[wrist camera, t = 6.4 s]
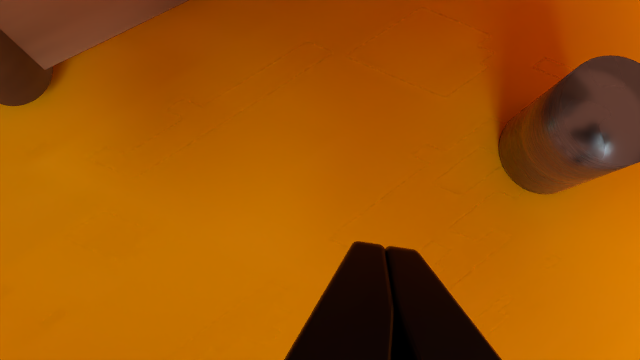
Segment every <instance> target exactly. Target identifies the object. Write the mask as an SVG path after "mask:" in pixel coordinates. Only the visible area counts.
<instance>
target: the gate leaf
mask: <svg viewBox="0 0 640 360" xmlns="http://www.w3.org/2000/svg"><path fill="white" fill-rule="evenodd" d="M186 1H188V0H0V104H3V105H7V106H19V105H24V104H27V103H30V102H32V101H34V100H35V99H37V98H38V97H39V96H41V95H42V94H43V93H44V91H45V90H46V89H47V87H48V86H49V84H50V81H51V78H52V73H53V66H54V65H56V64H58V63H60V62H62V61H64V60H66V59H68V58H70V57H73V56H75V55H77V54H79V53H81V52H83V51H85V50H87V49H89V48H91V47H93V46H95V45H97V44H99V43H101V42H103V41H106V40H108V39H110V38H112V37H114V36H116V35H118V34H120V33H122V32H124V31H126V30H128V29H130V28H132V27H134V26H136V25H139V24H141V23H143V22H145V21H147V20H149V19H151V18H153V17H155V16H157V15H159V14H161V13H163V12H165V11H167V10H170V9H172V8H174V7H176V6H178V5H180V4H182V3H184V2H186Z"/></svg>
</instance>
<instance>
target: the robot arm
mask: <svg viewBox="0 0 640 360" xmlns="http://www.w3.org/2000/svg"><path fill="white" fill-rule="evenodd" d="M284 360H502V359H501V358H500V357H499V356H498V354H497V353H496V352H495V350H494V349H493V348H492V347H491V345H490V344H489V343H488V341H487V340H486V339H485V338H484V336H483V335H482V334H481V332H480V331H479V330H478V329H477V327H476V326H475V325H474V323H473V322H472V321H471V320H470V318H469V317H468V316H467V314H466V313H465V312H464V311H463V309H462V308H461V307H460V305H459V304H458V303H457V302H456V300H455V299H454V298H453V296H452V295H451V294H450V293H449V291H448V290H447V289H446V287H445V286H444V285H443V284H442V282H441V281H440V280H439V278H438V277H437V276H436V274H435V273H434V272H433V271H432V269H431V268H430V267H429V265H428V264H427V263H426V262H425V260H424V259H423V258H422V256H421V255H420V254H419V253H418V252H417V251H415V250H413V249H407V248H400V247H393V246H388V247H387V248H386V249H384V247H383V246H382V245H379V244H373V243H366V242H360V241H356V242H354V243H353V244H352V245H351V247H350V249H349V250H348V252H347V254H346V255H345V257H344V259H343V261H342V262H341V264H340V266H339V267H338V269H337V271H336V272H335V274H334V276H333V278H332V279H331V281H330V283H329V284H328V286H327V288H326V289H325V291H324V293H323V295H322V296H321V298H320V300H319V301H318V303H317V305H316V306H315V308H314V310H313V312H312V313H311V315H310V317H309V318H308V320H307V322H306V323H305V325H304V327H303V328H302V330H301V332H300V334H299V335H298V337H297V339H296V340H295V342H294V344H293V345H292V347H291V349H290V351H289V352H288V354H287V356H286V357H285V359H284Z"/></svg>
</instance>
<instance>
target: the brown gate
mask: <svg viewBox="0 0 640 360" xmlns="http://www.w3.org/2000/svg"><path fill="white" fill-rule="evenodd" d="M499 155H500V160H501V163H502V165H503V168H504V169H505V171H506V173H507V174H508V176H509V177H510V178H511V179H512V180H513V181H514V182H515V183H516V184H517V185H519V186H520V187H522V188H524V189H526V190H528V191H530V192H533V193H538V194H553V193H557V192H560V191H563V190H566V189H568V188H571V187H574V186H576V185H579V184H582V183H584V182H587V181H590V180H592V179H595V178H598V177H600V176H603V175H606V174H608V173H611V172H614V171H616V170H619V169H622V168H624V167H627V166H630V165H632V164H635V163H638V162H640V63H638V62H636V61H634V60H631V59H628V58H625V57H620V56H601V57H596V58H593V59H590V60H588V61H586V62H584V63H583V64H581V65H580V66H579V67H577V68H576V69H575V70H573V71H572V72H571V73H570V74H568V75H567V76H566V77H564V78H563V79H562V80H561V81H559V82H558V83H557V84H556V85H554V86H553V87H552V88H550V89H549V90H548V91H547V92H545V93H544V94H543V95H541V96H540V97H539V98H538V99H536V100H535V101H534V102H532V103H531V104H530V105H529V106H527V107H526V108H525V109H524V110H522V111H521V112H520V113H518V114H517V115H516V116H515V117H513V118H512V119H511V120H510V121H509V122H508V123H507V124H506V126H505V128H504V129H503V131H502V134H501V137H500V141H499Z"/></svg>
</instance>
